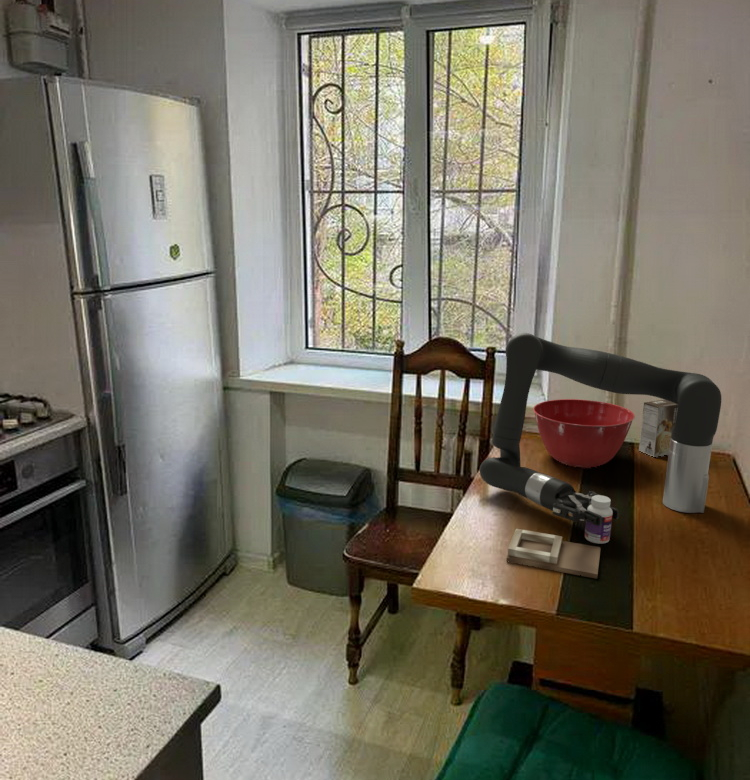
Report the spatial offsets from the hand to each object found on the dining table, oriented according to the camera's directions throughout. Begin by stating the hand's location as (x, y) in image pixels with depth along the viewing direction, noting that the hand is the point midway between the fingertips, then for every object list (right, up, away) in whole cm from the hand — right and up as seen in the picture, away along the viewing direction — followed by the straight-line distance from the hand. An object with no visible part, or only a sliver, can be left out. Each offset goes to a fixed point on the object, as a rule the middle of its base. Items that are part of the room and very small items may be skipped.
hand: (609, 518), depth 145 cm
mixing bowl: (+9, +7, +53) cm, 54 cm away
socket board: (-13, -7, -5) cm, 16 cm away
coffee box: (+36, +8, +59) cm, 70 cm away
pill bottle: (-2, -5, +4) cm, 7 cm away
